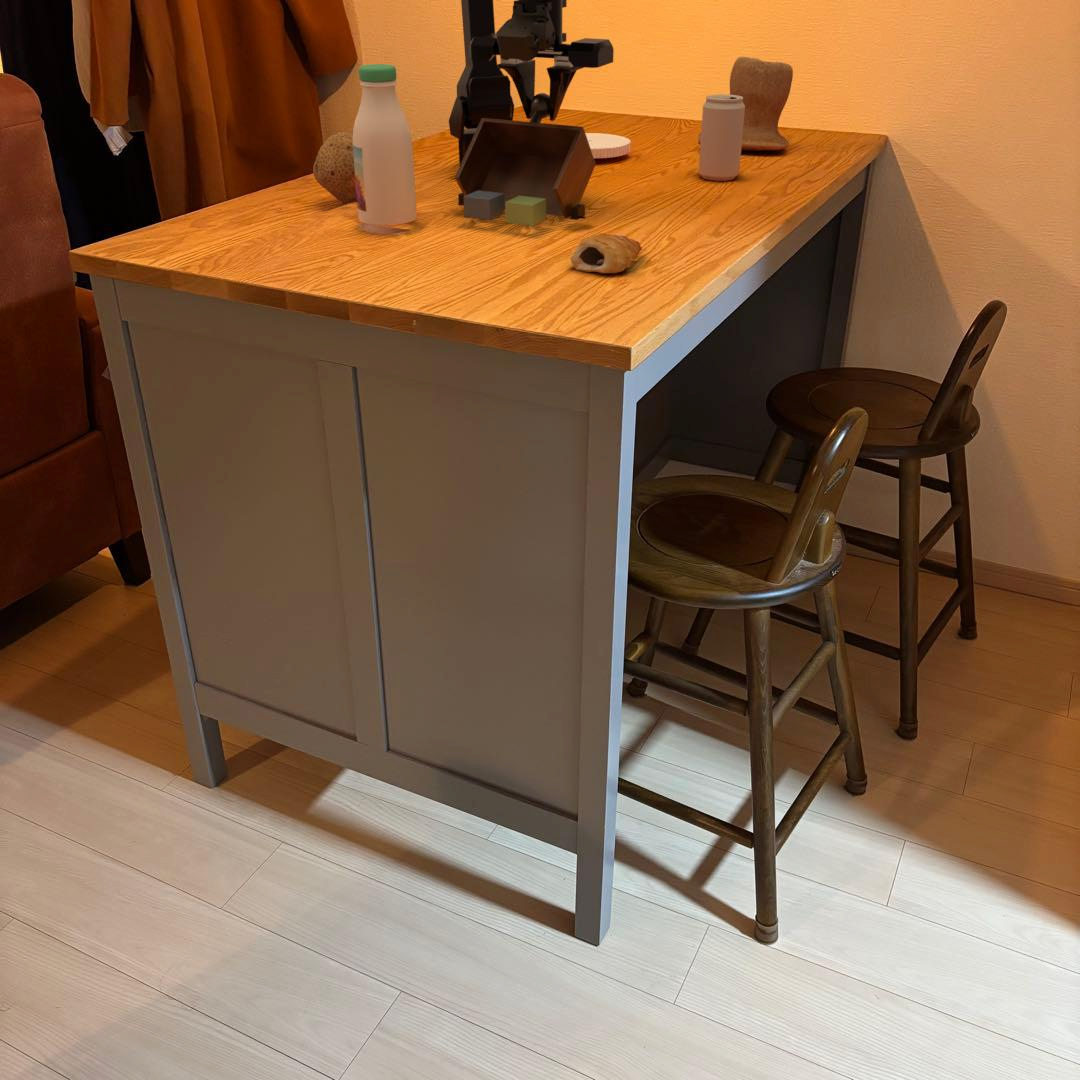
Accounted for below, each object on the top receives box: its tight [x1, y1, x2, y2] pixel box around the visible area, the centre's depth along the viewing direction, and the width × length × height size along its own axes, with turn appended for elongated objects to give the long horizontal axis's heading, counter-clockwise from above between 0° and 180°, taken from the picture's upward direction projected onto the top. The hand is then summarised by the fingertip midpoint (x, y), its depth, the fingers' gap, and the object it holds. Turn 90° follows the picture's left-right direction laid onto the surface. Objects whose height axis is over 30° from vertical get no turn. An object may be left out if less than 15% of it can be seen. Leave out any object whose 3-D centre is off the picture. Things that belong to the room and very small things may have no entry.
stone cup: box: [697, 56, 794, 152], centre depth 186 cm, size 15×12×15 cm
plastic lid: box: [585, 132, 632, 159], centre depth 183 cm, size 14×14×2 cm
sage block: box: [504, 196, 547, 227], centre depth 141 cm, size 4×4×4 cm
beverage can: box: [698, 93, 745, 182], centre depth 167 cm, size 6×6×12 cm
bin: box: [454, 92, 597, 219], centre depth 145 cm, size 15×15×8 cm
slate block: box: [463, 190, 505, 221], centre depth 144 cm, size 4×4×4 cm
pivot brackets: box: [457, 192, 587, 221], centre depth 146 cm, size 19×2×3 cm, turn 64°
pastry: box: [570, 233, 642, 274], centre depth 128 cm, size 9×7×4 cm
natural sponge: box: [312, 131, 357, 205], centre depth 151 cm, size 9×9×10 cm
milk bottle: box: [352, 63, 418, 235], centre depth 138 cm, size 8×8×20 cm
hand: (541, 119), depth 146 cm, fingers closed on bin, 3 cm apart
